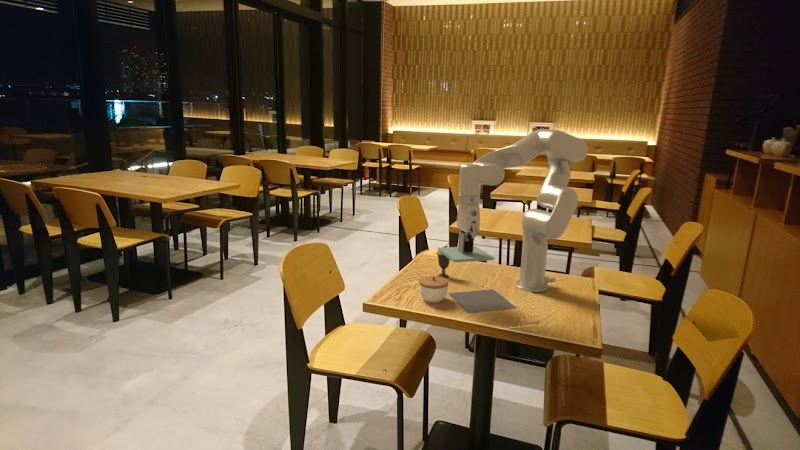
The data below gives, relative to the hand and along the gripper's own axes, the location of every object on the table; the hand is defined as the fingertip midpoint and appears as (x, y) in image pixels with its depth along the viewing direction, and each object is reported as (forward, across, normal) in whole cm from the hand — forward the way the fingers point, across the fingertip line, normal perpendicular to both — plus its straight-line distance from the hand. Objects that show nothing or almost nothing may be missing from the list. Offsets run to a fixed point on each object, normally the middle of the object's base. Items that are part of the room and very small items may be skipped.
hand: (465, 249), depth 170 cm
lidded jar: (+20, +4, +10) cm, 23 cm away
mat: (+20, -2, -7) cm, 21 cm away
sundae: (+20, +27, -4) cm, 34 cm away
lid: (+2, 0, 0) cm, 2 cm away
